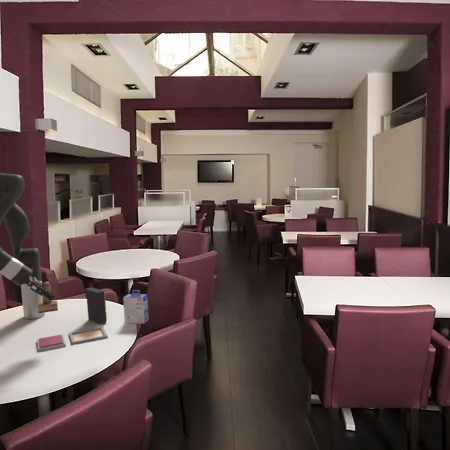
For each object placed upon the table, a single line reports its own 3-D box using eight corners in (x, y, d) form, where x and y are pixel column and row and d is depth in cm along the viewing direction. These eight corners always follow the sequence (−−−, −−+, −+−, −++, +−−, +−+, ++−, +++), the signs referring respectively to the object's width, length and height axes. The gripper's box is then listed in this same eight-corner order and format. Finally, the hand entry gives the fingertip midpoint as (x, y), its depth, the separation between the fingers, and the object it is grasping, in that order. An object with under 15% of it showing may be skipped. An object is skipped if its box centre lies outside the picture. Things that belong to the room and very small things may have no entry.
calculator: (108, 322, 197) (105, 290, 195) (99, 325, 194) (97, 292, 192) (95, 317, 205) (93, 286, 203) (87, 320, 202) (84, 288, 200)
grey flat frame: (69, 334, 184) (68, 332, 184) (102, 328, 190) (102, 326, 190) (72, 344, 173) (72, 342, 173) (107, 337, 179) (107, 335, 179)
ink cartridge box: (149, 319, 199) (147, 289, 197) (144, 324, 194) (143, 292, 192) (129, 319, 201) (127, 288, 199) (124, 323, 196) (122, 292, 194)
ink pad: (37, 341, 177) (37, 338, 177) (63, 337, 182) (62, 333, 181) (38, 351, 167) (38, 347, 167) (65, 346, 172) (65, 342, 171)
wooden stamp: (38, 309, 173) (35, 281, 172) (56, 307, 176) (54, 279, 175) (38, 313, 169) (36, 284, 167) (57, 310, 172) (55, 282, 170)
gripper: (23, 267, 161) (60, 294, 167) (22, 260, 173) (57, 285, 180) (8, 283, 159) (47, 309, 166) (9, 275, 172) (45, 300, 178)
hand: (52, 297), depth 173 cm, fingers closed on wooden stamp, 3 cm apart
